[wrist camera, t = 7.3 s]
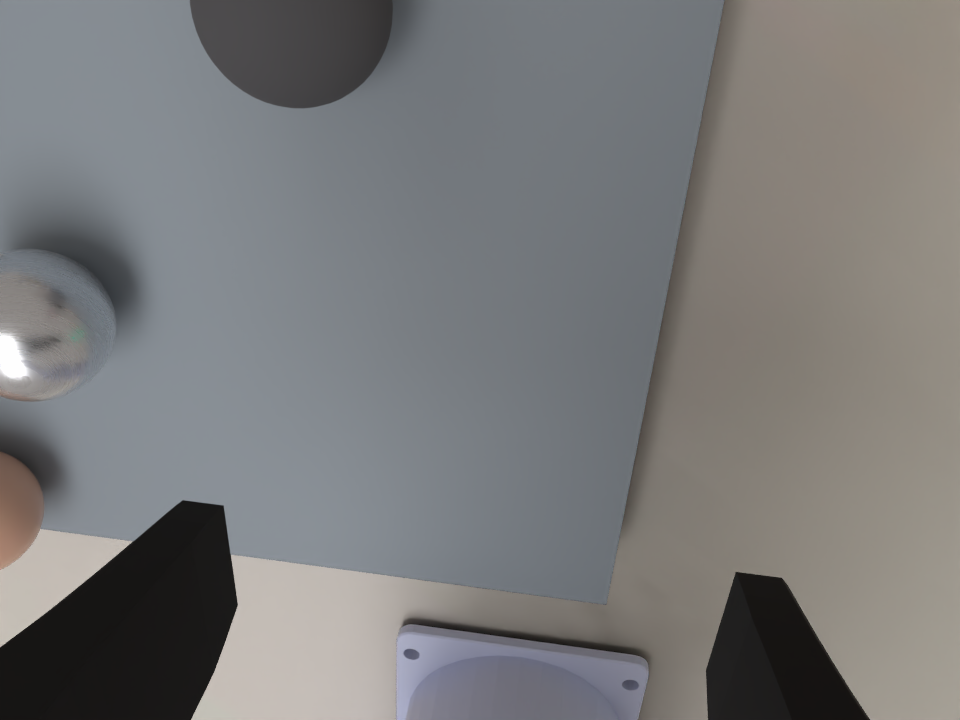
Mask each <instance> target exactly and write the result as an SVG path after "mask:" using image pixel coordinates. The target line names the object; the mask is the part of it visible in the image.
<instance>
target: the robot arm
mask: <svg viewBox="0 0 960 720" xmlns="http://www.w3.org/2000/svg"><path fill="white" fill-rule="evenodd" d="M237 606H238V603H237V596H236V589H235V582H234V575H233V568H232V561H231V554H230V547H229V540H228V533H227V526H226V518H225V511H224V505H216V504H208V503H201V502H193V501H185V500H182V501H181V502H180V503H178V504H177V505H176V506H175V507H173V508H172V509H171V510H170V511H168V512H167V513H166V514H165V515H164V516H162V517H161V518H160V519H159V520H158V521H157V522H155V523H154V524H153V525H152V526H151V527H150V528H148V529H147V530H146V531H145V532H144V533H142V534H141V535H140V536H139V537H138V538H137V539H135V540H134V541H133V542H132V543H131V544H130V545H128V546H127V547H126V548H125V549H124V550H123V551H121V552H120V553H119V554H118V555H117V556H115V557H114V558H113V559H112V560H111V561H110V562H108V563H107V564H106V565H105V566H104V567H102V568H101V569H100V570H99V571H98V572H96V573H95V574H94V575H93V576H91V577H90V578H89V579H88V580H86V581H85V582H84V583H83V584H82V585H80V586H79V587H78V588H77V589H75V590H74V591H73V592H72V593H71V594H69V595H68V596H67V597H66V598H64V599H63V600H62V601H61V602H59V603H58V604H57V605H56V606H54V607H53V608H52V609H51V610H49V611H48V612H47V613H46V614H44V615H43V616H42V617H40V618H39V619H38V620H36V621H35V622H34V623H32V624H31V625H30V626H28V627H27V628H26V629H24V630H23V631H22V632H20V633H19V634H18V635H16V636H15V637H14V638H12V639H11V640H10V641H8V642H7V643H6V644H4V645H3V646H2V647H0V720H191V718H192V716H193V714H194V712H195V710H196V708H197V706H198V704H199V702H200V700H201V698H202V696H203V694H204V692H205V690H206V688H207V686H208V684H209V681H210V679H211V677H212V675H213V673H214V671H215V668H216V665H217V663H218V660H219V657H220V654H221V652H222V649H223V646H224V644H225V641H226V638H227V635H228V632H229V629H230V626H231V623H232V620H233V617H234V614H235V612H236V609H237ZM413 649H414V650H413ZM648 677H649V668H648V663H647V661H646V660H645V659H643V658H642V657H640V656H637V655H631V654H624V653H617V652H610V651H602V650H595V649H588V648H581V647H573V646H566V645H559V644H552V643H545V642H537V641H530V640H523V639H516V638H508V637H501V636H494V635H487V634H480V633H472V632H465V631H458V630H451V629H443V628H436V627H429V626H422V625H415V624H409V625H405V626H403V627H402V628H400V630H399V633H398V637H397V662H396V720H638V717H639V713H640V709H641V705H642V701H643V697H644V693H645V689H646V685H647V681H648ZM706 679H707V705H708V720H870V719H869V718H868V716H867V715H866V713H865V712H864V710H863V709H862V707H861V706H860V704H859V702H858V701H857V699H856V698H855V696H854V695H853V693H852V692H851V690H850V689H849V687H848V686H847V684H846V683H845V681H844V679H843V678H842V676H841V675H840V673H839V671H838V670H837V668H836V667H835V665H834V663H833V662H832V660H831V658H830V657H829V655H828V653H827V652H826V650H825V649H824V647H823V645H822V644H821V642H820V640H819V639H818V637H817V635H816V634H815V632H814V630H813V628H812V627H811V625H810V623H809V622H808V620H807V618H806V616H805V615H804V613H803V611H802V610H801V608H800V606H799V604H798V603H797V601H796V599H795V597H794V596H793V594H792V592H791V590H790V589H789V587H788V585H787V584H786V583H785V581H784V580H783V579H782V578H778V577H770V576H763V575H755V574H747V573H739V572H736V574H735V577H734V580H733V584H732V587H731V590H730V593H729V597H728V600H727V603H726V607H725V610H724V613H723V616H722V620H721V623H720V626H719V630H718V633H717V636H716V639H715V643H714V646H713V649H712V653H711V656H710V659H709V662H708V666H707V669H706Z"/></svg>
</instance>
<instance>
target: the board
mask: <svg viewBox="0 0 960 720" xmlns="http://www.w3.org/2000/svg"><path fill="white" fill-rule="evenodd" d="M392 2H393V16H392V27H391V32H390V37H389V40H388V43H387V47H386V50H385V52H384V54H383V56H382V58H381V60H380V62H379V63H378V65H377V66H376V68H375V69H374V71H373V72H372V74H371V75H370V76H369V77H368V78H367V79H366V81H365V82H364V83H363V84H361V85H360V86H359V87H358V88H357V89H355V90H354V91H353V92H351V93H350V94H348V95H346V96H345V97H343V98H342V99H339V100H337V101H335V102H332V103H330V104H326V105H322V106H318V107H312V108H304V109H303V108H287V107H281V106H276V105H273V104H269V103H266V102H263V101H261V100H259V99H256V98H254V97H252V96H250V95H249V94H247V93H245V92H244V91H242V90H241V89H239V88H238V87H237V86H235V85H234V84H233V83H232V82H231V81H230V80H228V79H227V78H226V77H225V76H224V75H223V74H222V73H221V71H220V70H219V69H218V68H217V67H216V66H215V65H214V63H213V62H212V60H211V59H210V57H209V56H208V54H207V53H206V51H205V49H204V47H203V45H202V44H201V41H200V39H199V36H198V34H197V32H196V29H195V25H194V22H193V18H192V13H191V8H190V0H0V253H2V252H6V251H10V250H16V249H41V250H47V251H51V252H56V253H58V254H61V255H64V256H67V257H69V258H71V259H73V260H75V261H77V262H78V263H80V264H81V265H83V266H84V267H86V268H87V269H88V270H89V271H90V272H91V273H93V274H94V275H95V276H96V277H97V278H98V280H99V281H100V282H101V283H102V285H103V286H104V288H105V289H106V291H107V292H108V294H109V296H110V298H111V301H112V304H113V307H114V310H115V316H116V324H117V327H116V339H115V342H114V346H113V349H112V352H111V354H110V356H109V358H108V360H107V362H106V364H105V365H104V367H103V368H102V369H101V370H100V372H99V373H98V374H97V375H96V376H95V377H94V378H93V379H92V380H91V381H90V382H88V383H87V384H86V385H85V386H83V387H82V388H80V389H78V390H76V391H75V392H73V393H71V394H68V395H66V396H63V397H60V398H56V399H52V400H47V401H38V402H25V401H16V400H11V399H7V398H3V397H0V451H1V452H4V453H6V454H9V455H11V456H13V457H15V458H16V459H18V460H19V461H21V462H22V463H23V464H25V465H26V466H27V467H28V468H29V469H30V470H31V472H32V473H33V474H34V476H35V477H36V478H37V480H38V482H39V484H40V487H41V490H42V492H43V497H44V507H45V509H44V518H43V522H42V526H41V528H40V529H46V530H53V531H60V532H68V533H75V534H83V535H90V536H98V537H105V538H113V539H120V540H127V541H134V540H135V539H137V538H138V537H139V536H140V535H141V534H142V533H144V532H145V531H146V530H147V529H148V528H150V527H151V526H152V525H153V524H154V523H155V522H157V521H158V520H159V519H160V518H161V517H162V516H164V515H165V514H166V513H167V512H168V511H170V510H171V509H172V508H173V507H175V506H176V505H177V504H178V503H180V502H181V501H182V500H185V501H193V502H201V503H208V504H216V505H224V511H225V518H226V526H227V533H228V540H229V547H230V554H232V555H239V556H246V557H254V558H261V559H269V560H276V561H284V562H291V563H299V564H306V565H313V566H321V567H328V568H336V569H343V570H351V571H358V572H366V573H373V574H380V575H388V576H395V577H403V578H410V579H418V580H425V581H433V582H440V583H447V584H455V585H462V586H470V587H477V588H485V589H492V590H500V591H507V592H514V593H522V594H529V595H537V596H544V597H552V598H559V599H566V600H574V601H581V602H589V603H596V604H604V605H606V604H607V599H608V593H609V588H610V583H611V578H612V573H613V568H614V563H615V558H616V553H617V547H618V542H619V537H620V532H621V527H622V522H623V517H624V512H625V507H626V501H627V496H628V491H629V486H630V481H631V476H632V471H633V466H634V460H635V455H636V450H637V445H638V440H639V435H640V430H641V425H642V420H643V414H644V409H645V404H646V399H647V394H648V389H649V384H650V379H651V374H652V368H653V363H654V358H655V353H656V348H657V343H658V338H659V333H660V328H661V322H662V317H663V312H664V307H665V302H666V297H667V292H668V287H669V281H670V276H671V271H672V266H673V261H674V256H675V251H676V246H677V241H678V235H679V230H680V225H681V220H682V215H683V210H684V205H685V200H686V195H687V189H688V184H689V179H690V174H691V169H692V164H693V159H694V154H695V149H696V143H697V138H698V133H699V128H700V123H701V118H702V113H703V108H704V102H705V97H706V92H707V87H708V82H709V77H710V72H711V67H712V62H713V56H714V51H715V46H716V41H717V36H718V31H719V26H720V21H721V16H722V10H723V5H724V0H392Z"/></svg>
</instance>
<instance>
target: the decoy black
mask: <svg viewBox="0 0 960 720" xmlns="http://www.w3.org/2000/svg"><path fill="white" fill-rule="evenodd" d="M190 8H191V13H192V18H193V22H194V25H195V29H196V32H197V34H198V36H199V39H200V41H201V44H202V45H203V47H204V49H205V51H206V53H207V54H208V56H209V57H210V59H211V60H212V62H213V63H214V65H215V66H216V67H217V68H218V69H219V70H220V71H221V73H222V74H223V75H224V76H225V77H226V78H227V79H228V80H230V81H231V82H232V83H233V84H234V85H235V86H237V87H238V88H239V89H241V90H242V91H244V92H245V93H247V94H249V95H250V96H252V97H254V98H256V99H259V100H261V101H263V102H266V103H269V104H273V105H276V106H281V107H287V108H303V109H304V108H312V107H318V106H322V105H326V104H330V103H332V102H335V101H337V100H339V99H342V98H343V97H345V96H346V95H348V94H350V93H351V92H353V91H354V90H355V89H357V88H358V87H359V86H360V85H361V84H363V83H364V82H365V81H366V79H367V78H368V77H369V76H370V75H371V74H372V72H373V71H374V69H375V68H376V66H377V65H378V63H379V62H380V60H381V58H382V56H383V54H384V52H385V50H386V47H387V43H388V40H389V37H390V32H391V27H392V16H393V2H392V0H190Z"/></svg>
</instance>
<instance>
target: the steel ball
mask: <svg viewBox="0 0 960 720" xmlns="http://www.w3.org/2000/svg"><path fill="white" fill-rule="evenodd" d="M116 327H117V324H116V316H115V310H114V307H113V304H112V301H111V298H110V296H109V294H108V292H107V291H106V289H105V288H104V286H103V285H102V283H101V282H100V281H99V280H98V278H97V277H96V276H95V275H94V274H93V273H91V272H90V271H89V270H88V269H87V268H86V267H84V266H83V265H81V264H80V263H78V262H77V261H75V260H73V259H71V258H69V257H67V256H64V255H61V254H58V253H56V252H51V251H47V250H41V249H16V250H10V251H6V252H2V253H0V397H3V398H7V399H11V400H16V401H25V402H38V401H47V400H52V399H56V398H60V397H63V396H66V395H68V394H71V393H73V392H75V391H76V390H78V389H80V388H82V387H83V386H85V385H86V384H87V383H88V382H90V381H91V380H92V379H93V378H94V377H95V376H96V375H97V374H98V373H99V372H100V370H101V369H102V368H103V367H104V365H105V364H106V362H107V360H108V358H109V356H110V354H111V352H112V349H113V346H114V342H115V339H116Z"/></svg>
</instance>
